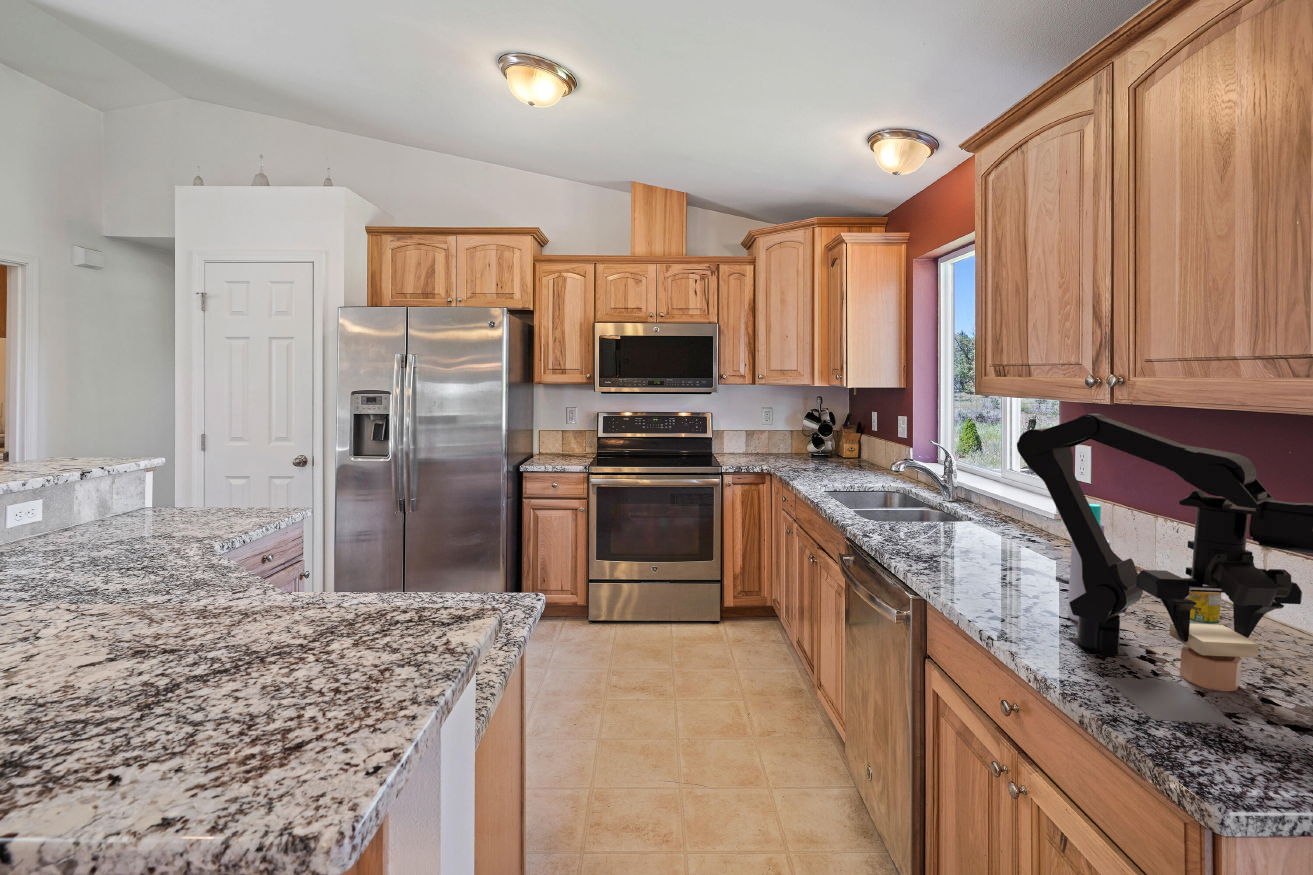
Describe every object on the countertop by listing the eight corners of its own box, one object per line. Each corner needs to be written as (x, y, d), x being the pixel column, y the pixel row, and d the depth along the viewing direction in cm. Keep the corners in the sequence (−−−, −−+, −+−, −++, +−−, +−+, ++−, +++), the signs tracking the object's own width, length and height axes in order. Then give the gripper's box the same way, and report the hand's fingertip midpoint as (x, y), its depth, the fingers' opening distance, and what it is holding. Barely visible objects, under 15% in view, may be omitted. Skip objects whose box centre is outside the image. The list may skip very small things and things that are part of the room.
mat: (1103, 680, 97) (1103, 677, 97) (1176, 684, 96) (1176, 681, 96) (1152, 723, 86) (1152, 719, 86) (1236, 728, 84) (1236, 724, 84)
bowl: (1171, 673, 100) (1173, 643, 99) (1217, 675, 99) (1219, 645, 99) (1199, 693, 94) (1202, 661, 93) (1249, 695, 93) (1251, 663, 92)
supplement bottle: (1227, 627, 117) (1231, 575, 116) (1200, 628, 117) (1204, 577, 116) (1198, 616, 123) (1202, 567, 122) (1173, 617, 122) (1177, 568, 121)
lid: (1169, 634, 100) (1170, 622, 100) (1221, 637, 99) (1222, 624, 98) (1201, 654, 93) (1202, 641, 92) (1257, 657, 92) (1258, 644, 91)
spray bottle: (1062, 619, 122) (1068, 504, 120) (1073, 611, 126) (1079, 500, 124) (1100, 628, 117) (1107, 509, 115) (1109, 619, 121) (1116, 505, 119)
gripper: (1186, 552, 88) (1178, 662, 89) (1342, 557, 85) (1331, 670, 86) (1137, 532, 99) (1130, 631, 100) (1274, 536, 96) (1265, 637, 97)
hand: (1211, 642), depth 96 cm, fingers closed on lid, 7 cm apart
